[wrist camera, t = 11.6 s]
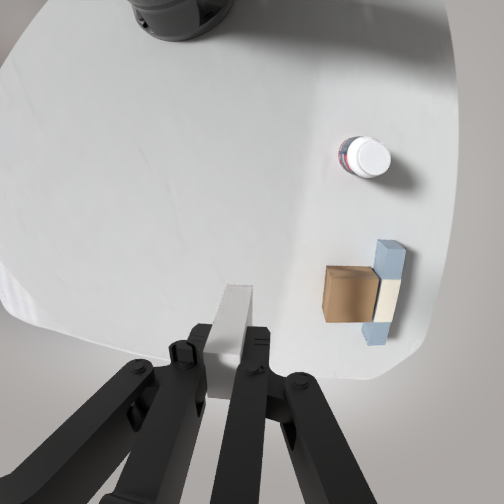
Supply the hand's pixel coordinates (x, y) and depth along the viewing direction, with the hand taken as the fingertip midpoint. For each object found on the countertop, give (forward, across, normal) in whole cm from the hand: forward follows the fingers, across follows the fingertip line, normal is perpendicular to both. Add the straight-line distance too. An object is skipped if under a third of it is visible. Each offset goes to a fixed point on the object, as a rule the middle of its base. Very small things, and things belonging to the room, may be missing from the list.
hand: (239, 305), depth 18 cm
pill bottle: (+27, +13, +9) cm, 31 cm away
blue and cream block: (+26, +19, -11) cm, 34 cm away
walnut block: (+27, +13, -11) cm, 32 cm away
